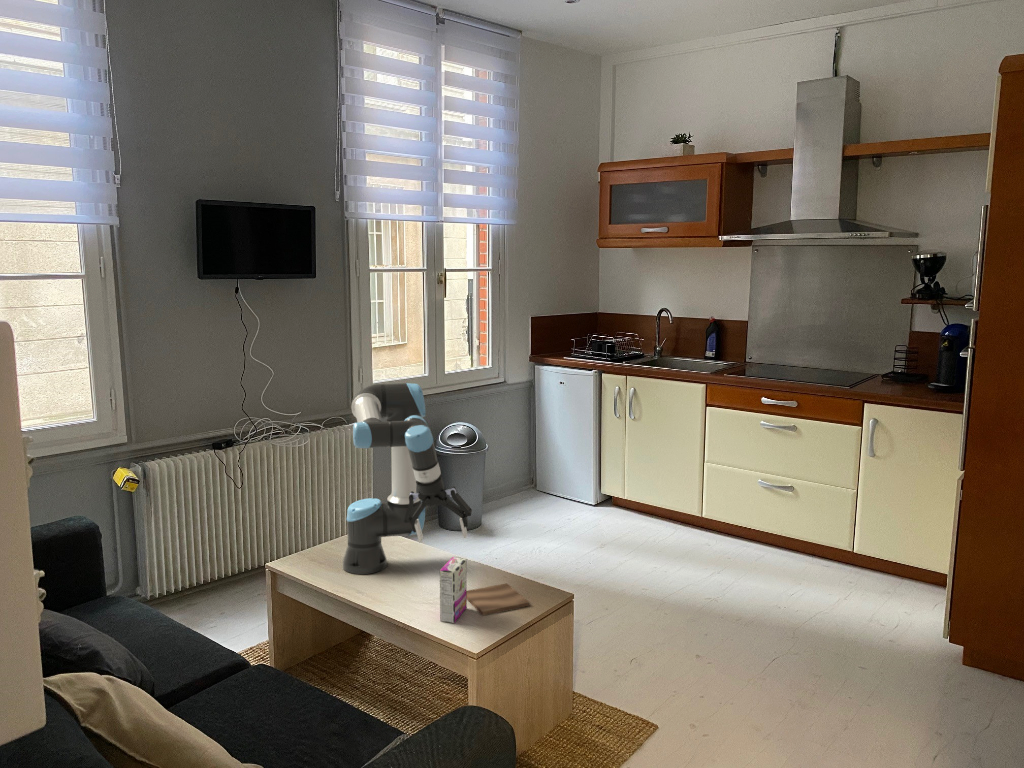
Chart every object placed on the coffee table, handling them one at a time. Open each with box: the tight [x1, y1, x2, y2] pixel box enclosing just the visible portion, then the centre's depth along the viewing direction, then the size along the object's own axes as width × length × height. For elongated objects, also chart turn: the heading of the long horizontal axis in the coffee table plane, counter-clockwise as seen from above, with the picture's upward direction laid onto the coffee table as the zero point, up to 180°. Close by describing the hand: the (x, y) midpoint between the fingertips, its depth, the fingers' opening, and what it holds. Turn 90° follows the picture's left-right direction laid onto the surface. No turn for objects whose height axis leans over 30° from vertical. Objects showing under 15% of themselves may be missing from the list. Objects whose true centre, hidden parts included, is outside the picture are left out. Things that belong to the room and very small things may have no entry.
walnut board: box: [467, 583, 530, 616], centre depth 250 cm, size 16×16×1 cm
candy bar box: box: [439, 556, 468, 624], centre depth 238 cm, size 11×5×16 cm, turn 164°
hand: (443, 537), depth 235 cm, fingers open, 13 cm apart
